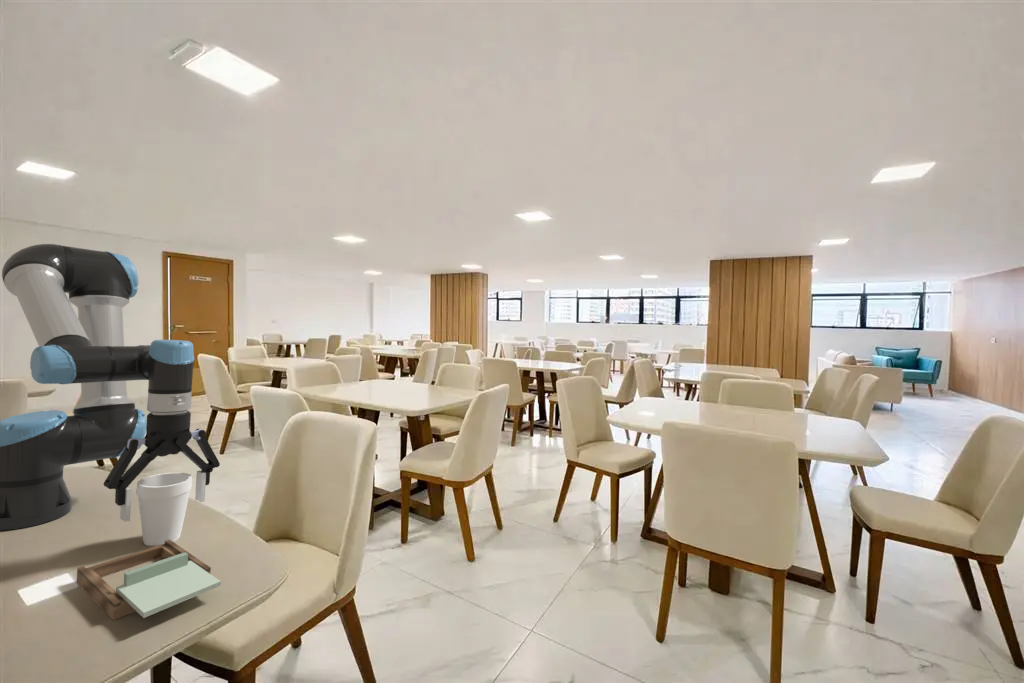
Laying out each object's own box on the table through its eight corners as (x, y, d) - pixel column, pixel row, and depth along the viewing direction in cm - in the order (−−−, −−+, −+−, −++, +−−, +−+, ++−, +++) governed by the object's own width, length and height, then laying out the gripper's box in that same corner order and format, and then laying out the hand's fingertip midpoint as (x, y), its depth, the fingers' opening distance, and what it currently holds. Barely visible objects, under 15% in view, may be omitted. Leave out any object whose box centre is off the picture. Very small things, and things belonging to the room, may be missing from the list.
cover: (115, 591, 74) (116, 575, 74) (190, 564, 84) (191, 550, 84) (143, 617, 69) (144, 600, 69) (220, 585, 78) (221, 570, 78)
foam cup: (132, 536, 97) (135, 477, 96) (184, 525, 103) (187, 469, 103) (136, 554, 90) (140, 490, 90) (192, 541, 96) (195, 482, 96)
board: (76, 581, 80) (77, 567, 80) (168, 551, 92) (169, 539, 92) (113, 620, 71) (114, 604, 71) (209, 581, 83) (210, 567, 83)
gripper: (100, 422, 83) (95, 534, 84) (239, 407, 105) (234, 497, 105) (85, 416, 87) (81, 523, 88) (222, 403, 109) (218, 489, 109)
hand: (164, 509), depth 96 cm, fingers open, 13 cm apart
